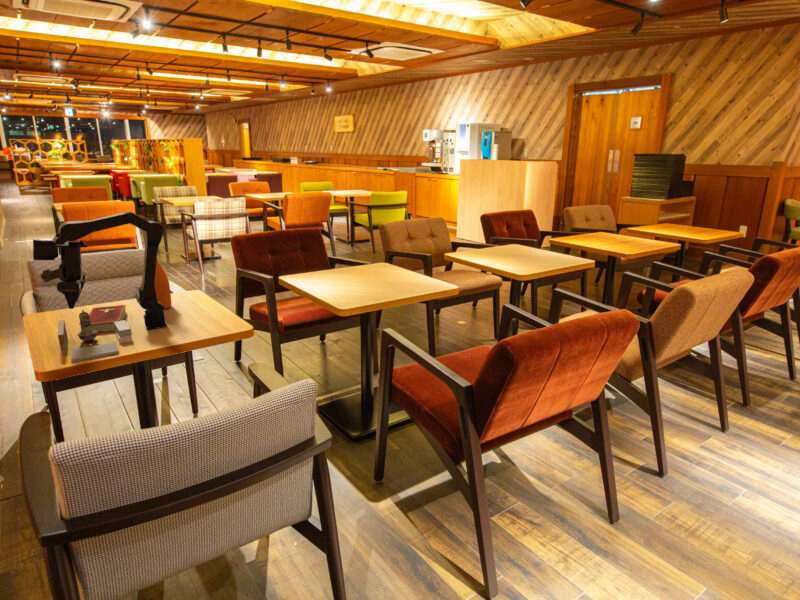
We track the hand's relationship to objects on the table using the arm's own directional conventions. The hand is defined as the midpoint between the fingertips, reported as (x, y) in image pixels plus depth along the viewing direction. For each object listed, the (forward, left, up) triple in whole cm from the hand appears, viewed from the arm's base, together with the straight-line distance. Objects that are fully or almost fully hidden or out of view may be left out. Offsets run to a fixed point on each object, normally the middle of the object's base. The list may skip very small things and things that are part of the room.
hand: (73, 305), depth 169 cm
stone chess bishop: (-3, +4, -13) cm, 14 cm away
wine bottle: (-29, -25, -13) cm, 40 cm away
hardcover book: (-9, -16, -14) cm, 23 cm away
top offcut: (-13, +3, -11) cm, 18 cm away
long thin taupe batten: (+4, +4, -13) cm, 14 cm away
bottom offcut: (-13, +4, -14) cm, 19 cm away
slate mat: (-4, +15, -13) cm, 20 cm away
